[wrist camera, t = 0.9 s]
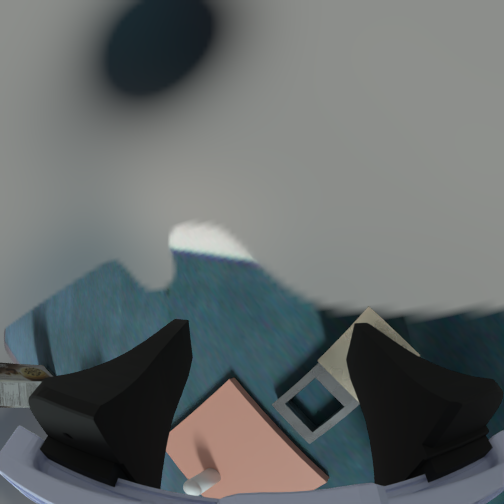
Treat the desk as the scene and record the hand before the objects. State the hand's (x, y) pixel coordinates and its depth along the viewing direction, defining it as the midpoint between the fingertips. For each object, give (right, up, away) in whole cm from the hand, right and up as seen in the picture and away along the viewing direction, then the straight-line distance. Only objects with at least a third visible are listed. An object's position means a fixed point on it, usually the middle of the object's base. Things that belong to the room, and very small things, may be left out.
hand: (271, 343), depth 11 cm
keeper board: (-3, -18, +11) cm, 21 cm away
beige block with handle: (+7, -7, +9) cm, 13 cm away
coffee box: (-44, -25, +31) cm, 59 cm away
